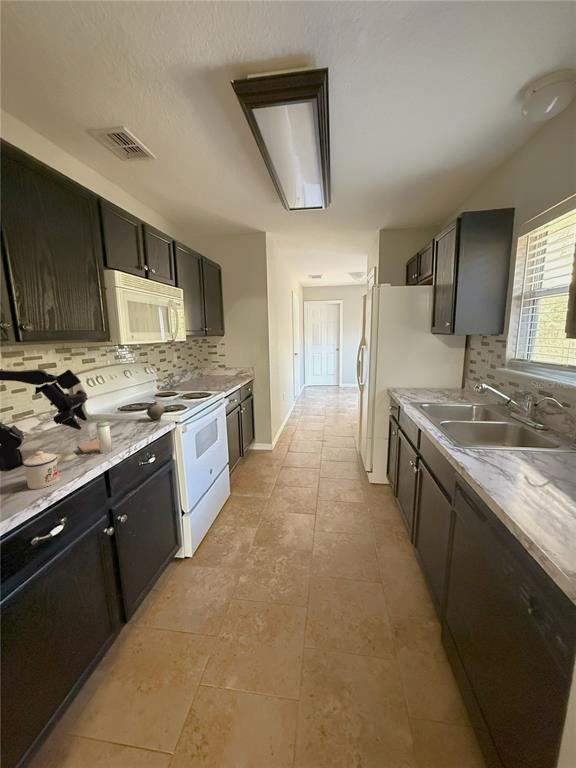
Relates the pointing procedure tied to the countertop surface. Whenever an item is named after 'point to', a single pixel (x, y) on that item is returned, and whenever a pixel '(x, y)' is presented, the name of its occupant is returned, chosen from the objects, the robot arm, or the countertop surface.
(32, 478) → the teacup with lid
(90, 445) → the mat
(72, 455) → the mat
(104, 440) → the spice jar
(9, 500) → the countertop surface
